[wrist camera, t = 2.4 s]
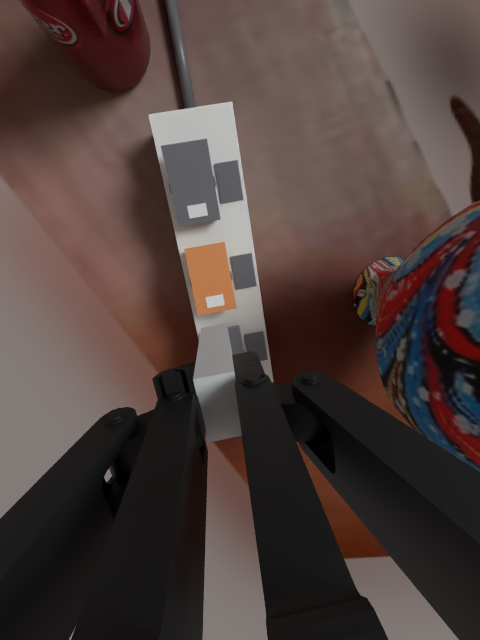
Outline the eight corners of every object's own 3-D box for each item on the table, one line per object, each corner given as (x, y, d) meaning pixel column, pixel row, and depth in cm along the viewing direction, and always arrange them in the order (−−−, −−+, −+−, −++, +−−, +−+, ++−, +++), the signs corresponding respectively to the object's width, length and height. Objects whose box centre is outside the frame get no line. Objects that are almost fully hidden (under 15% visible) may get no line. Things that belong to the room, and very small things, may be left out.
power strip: (122, -31, 24) (101, -93, 19) (204, -42, 24) (202, -105, 19) (213, 388, 35) (213, 409, 31) (268, 377, 35) (276, 396, 31)
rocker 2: (202, 331, 28) (201, 333, 27) (239, 324, 28) (240, 326, 27) (213, 388, 29) (213, 392, 28) (249, 381, 29) (251, 385, 28)
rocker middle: (184, 250, 26) (182, 249, 25) (225, 243, 26) (225, 241, 25) (197, 314, 27) (196, 315, 26) (236, 307, 27) (237, 308, 26)
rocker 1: (161, 148, 23) (159, 145, 22) (207, 140, 23) (208, 138, 22) (179, 225, 25) (178, 226, 24) (221, 218, 25) (221, 219, 24)
